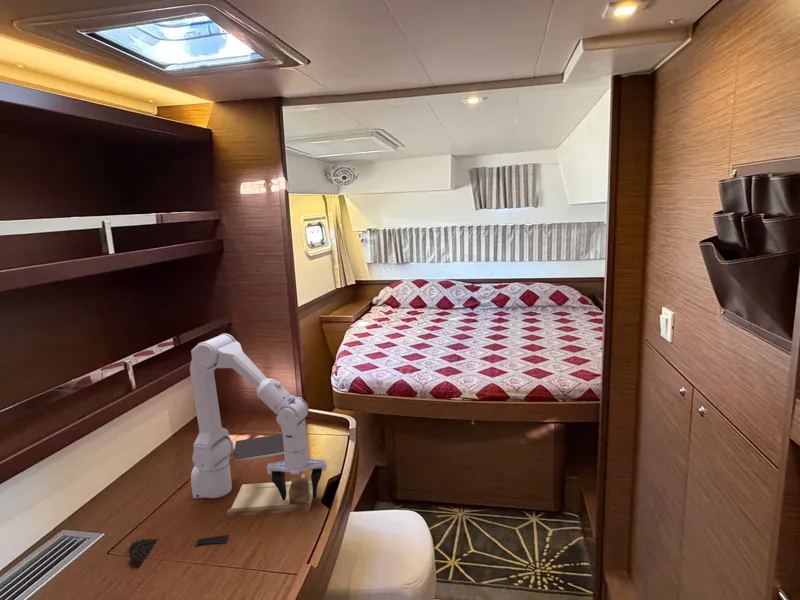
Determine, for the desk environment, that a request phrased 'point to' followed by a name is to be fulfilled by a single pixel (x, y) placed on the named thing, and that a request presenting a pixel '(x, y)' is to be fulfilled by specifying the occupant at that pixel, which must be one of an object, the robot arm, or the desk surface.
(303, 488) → the marking gauge
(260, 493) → the plywood board
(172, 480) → the hand saw
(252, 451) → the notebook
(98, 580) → the desk surface
